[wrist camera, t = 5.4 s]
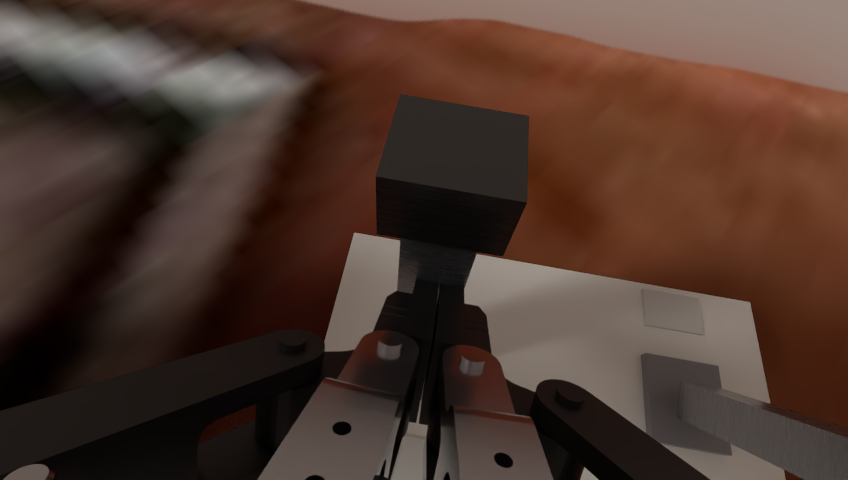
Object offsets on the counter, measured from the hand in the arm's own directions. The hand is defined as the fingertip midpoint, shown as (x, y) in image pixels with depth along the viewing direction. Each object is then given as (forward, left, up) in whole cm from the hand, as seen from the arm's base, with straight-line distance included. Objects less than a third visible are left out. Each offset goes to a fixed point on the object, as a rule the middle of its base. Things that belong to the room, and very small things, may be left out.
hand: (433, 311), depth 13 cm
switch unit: (+6, 0, -12) cm, 14 cm away
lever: (0, 0, -7) cm, 7 cm away
